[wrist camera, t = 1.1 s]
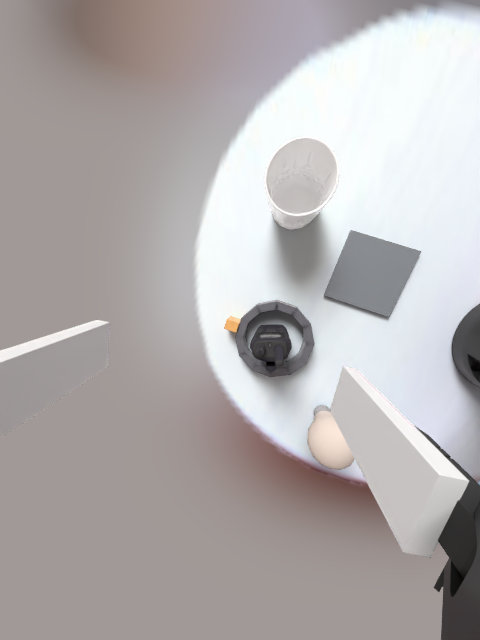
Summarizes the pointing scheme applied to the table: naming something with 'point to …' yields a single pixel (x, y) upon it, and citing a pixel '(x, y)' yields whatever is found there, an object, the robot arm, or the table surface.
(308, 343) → the dock collar
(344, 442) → the light bulb
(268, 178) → the white cup
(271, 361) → the two-way radio
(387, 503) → the robot arm
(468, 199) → the table surface
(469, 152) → the table surface
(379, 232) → the table surface
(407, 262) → the mat
